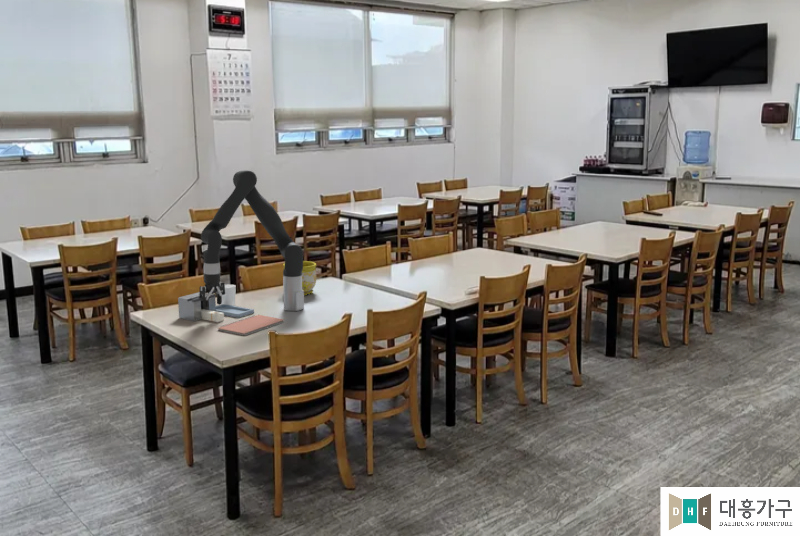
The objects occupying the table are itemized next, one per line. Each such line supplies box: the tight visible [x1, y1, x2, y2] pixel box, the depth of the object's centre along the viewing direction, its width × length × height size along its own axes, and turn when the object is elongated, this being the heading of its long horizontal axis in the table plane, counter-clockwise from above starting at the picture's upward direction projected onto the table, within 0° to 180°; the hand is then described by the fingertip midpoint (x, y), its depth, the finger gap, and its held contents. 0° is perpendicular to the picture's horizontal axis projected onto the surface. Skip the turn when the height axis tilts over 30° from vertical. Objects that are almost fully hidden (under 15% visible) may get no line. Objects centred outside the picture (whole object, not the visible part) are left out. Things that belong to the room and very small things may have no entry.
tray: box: [216, 304, 255, 319], centre depth 356 cm, size 20×11×2 cm, turn 60°
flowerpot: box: [282, 260, 317, 296], centre depth 397 cm, size 18×18×16 cm
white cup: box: [220, 283, 237, 306], centre depth 369 cm, size 8×8×10 cm
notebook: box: [217, 314, 285, 336], centre depth 333 cm, size 27×17×2 cm, turn 149°
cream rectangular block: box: [200, 309, 225, 323], centre depth 344 cm, size 14×4×4 cm, turn 60°
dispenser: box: [177, 291, 217, 322], centre depth 347 cm, size 10×14×10 cm
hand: (212, 305), depth 342 cm, fingers open, 8 cm apart
